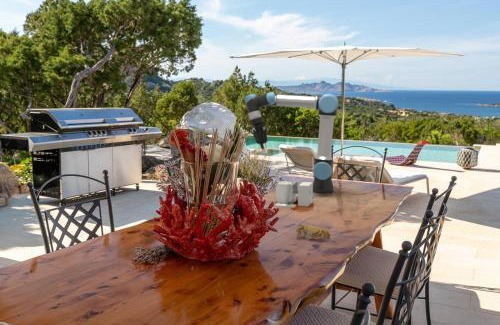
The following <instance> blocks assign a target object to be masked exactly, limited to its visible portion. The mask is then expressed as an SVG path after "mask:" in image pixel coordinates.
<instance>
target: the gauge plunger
mask: <svg viewBox="0 0 500 325" xmlns="http://www.w3.org/2000/svg"><path fill="white" fill-rule="evenodd" d="M296 194H297V195H298V181H293V182H292V183H291V184H290V185H289V203H288V205H289V204H296V202H297V201H296Z"/></svg>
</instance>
